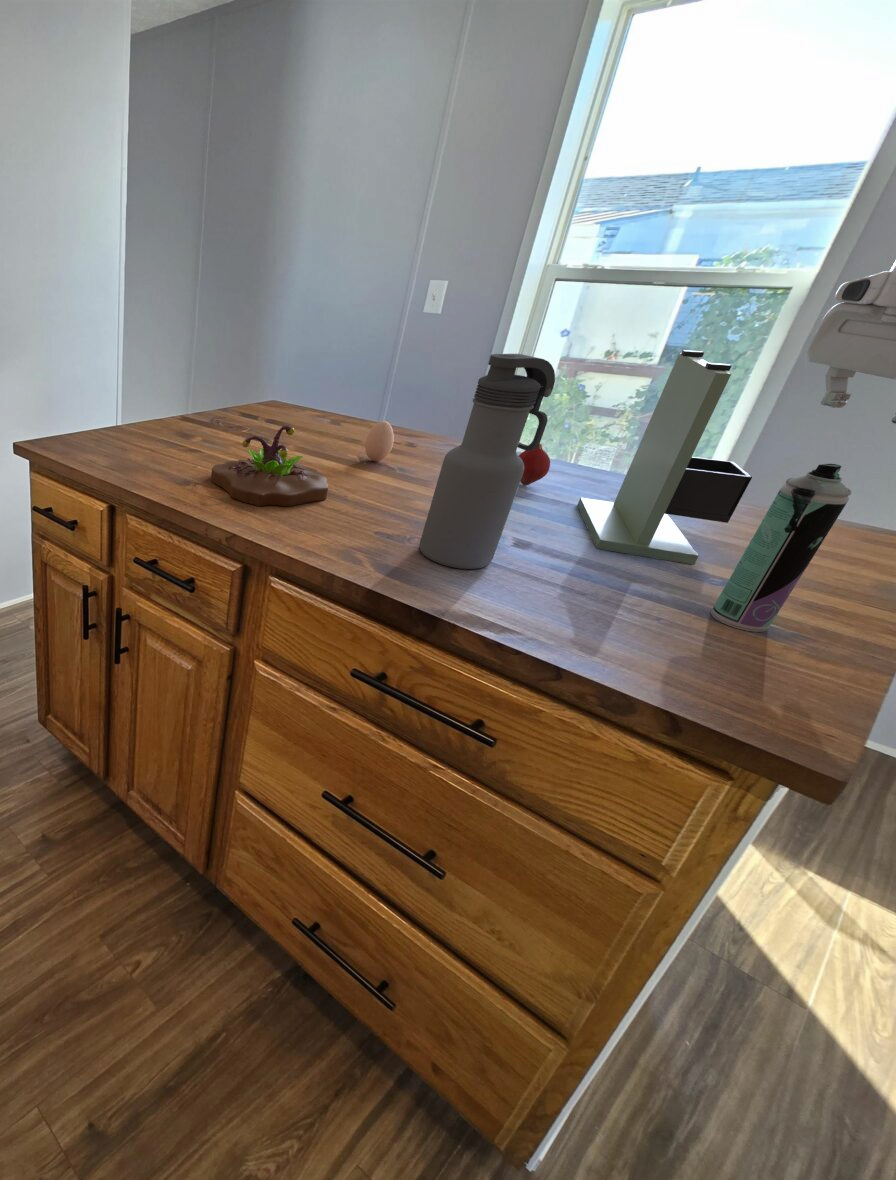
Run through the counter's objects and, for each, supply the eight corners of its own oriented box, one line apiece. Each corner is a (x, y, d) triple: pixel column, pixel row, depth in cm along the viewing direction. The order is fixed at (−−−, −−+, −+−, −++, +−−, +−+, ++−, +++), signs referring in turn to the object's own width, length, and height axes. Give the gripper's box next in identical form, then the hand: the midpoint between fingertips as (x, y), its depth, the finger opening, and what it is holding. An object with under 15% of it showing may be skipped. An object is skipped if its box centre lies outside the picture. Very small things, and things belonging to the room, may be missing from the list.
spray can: (767, 637, 78) (869, 476, 68) (709, 620, 81) (797, 464, 71) (768, 620, 81) (864, 464, 71) (711, 604, 85) (796, 453, 75)
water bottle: (462, 539, 101) (523, 348, 87) (509, 568, 93) (585, 362, 79) (403, 544, 99) (457, 350, 85) (446, 574, 91) (513, 363, 77)
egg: (389, 459, 137) (398, 419, 133) (387, 466, 132) (397, 425, 128) (362, 455, 139) (371, 416, 134) (360, 462, 134) (369, 422, 130)
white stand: (685, 521, 109) (769, 353, 96) (724, 570, 93) (831, 376, 80) (577, 505, 115) (642, 344, 102) (596, 548, 99) (676, 364, 86)
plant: (347, 502, 115) (361, 439, 109) (245, 510, 110) (254, 445, 105) (291, 466, 131) (300, 410, 126) (200, 472, 127) (206, 414, 122)
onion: (503, 478, 127) (516, 437, 123) (535, 481, 126) (550, 440, 122) (513, 488, 122) (527, 446, 118) (547, 491, 121) (562, 448, 117)
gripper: (1082, 299, 64) (987, 439, 71) (882, 284, 82) (821, 397, 88) (1011, 298, 64) (923, 438, 71) (827, 284, 82) (771, 396, 89)
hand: (865, 415), depth 80 cm, fingers open, 8 cm apart
